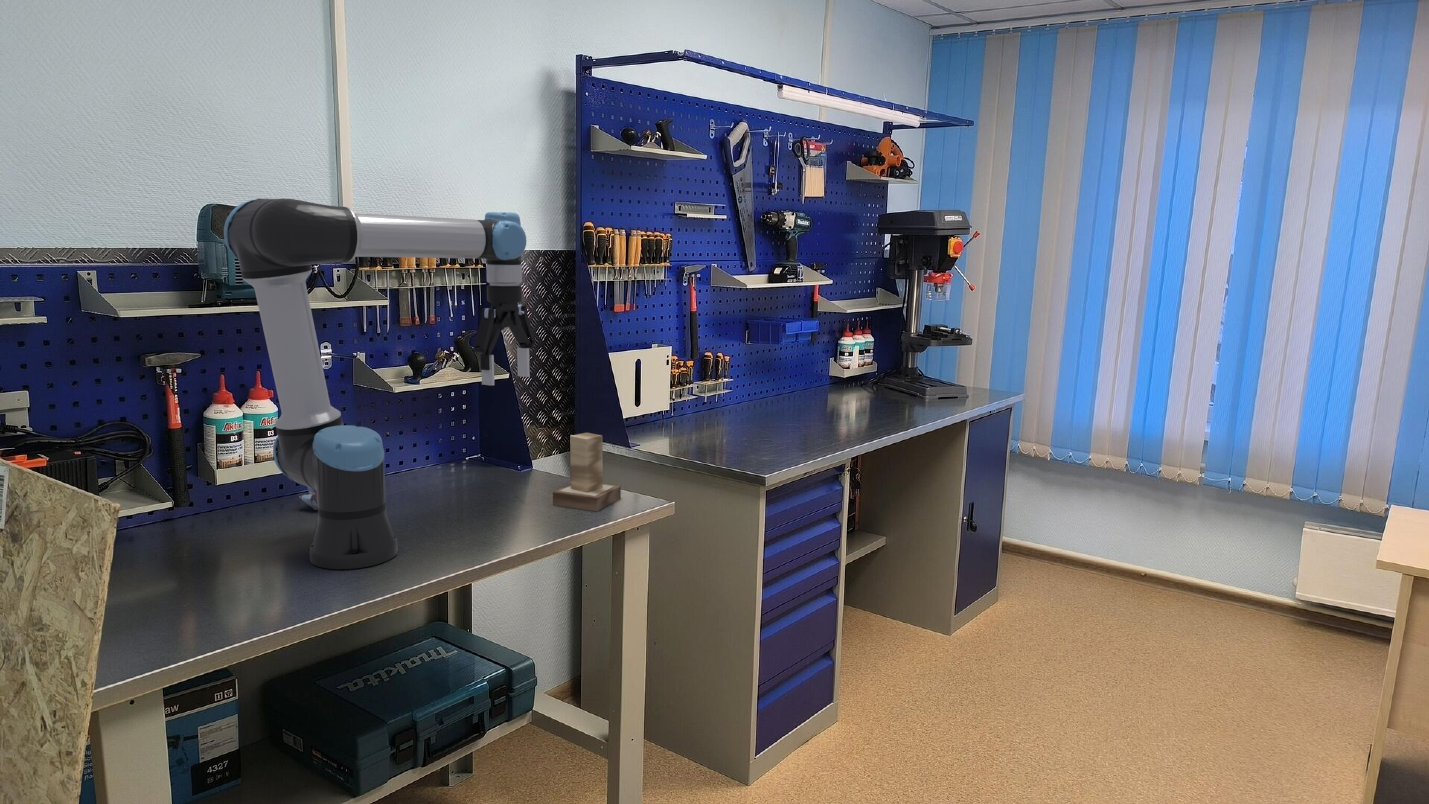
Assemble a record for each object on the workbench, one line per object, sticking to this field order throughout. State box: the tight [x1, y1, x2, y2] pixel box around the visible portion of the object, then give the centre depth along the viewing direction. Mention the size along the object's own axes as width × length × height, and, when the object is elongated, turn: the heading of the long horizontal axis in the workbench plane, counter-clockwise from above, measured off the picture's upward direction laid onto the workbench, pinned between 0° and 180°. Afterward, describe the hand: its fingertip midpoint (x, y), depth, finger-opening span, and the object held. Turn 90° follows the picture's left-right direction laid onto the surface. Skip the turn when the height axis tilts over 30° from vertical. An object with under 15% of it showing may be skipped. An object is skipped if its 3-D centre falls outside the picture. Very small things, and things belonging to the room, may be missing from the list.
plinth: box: [552, 483, 622, 512], centre depth 210 cm, size 11×11×3 cm
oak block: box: [569, 432, 604, 493], centre depth 208 cm, size 5×5×12 cm
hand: (506, 380), depth 208 cm, fingers open, 13 cm apart
